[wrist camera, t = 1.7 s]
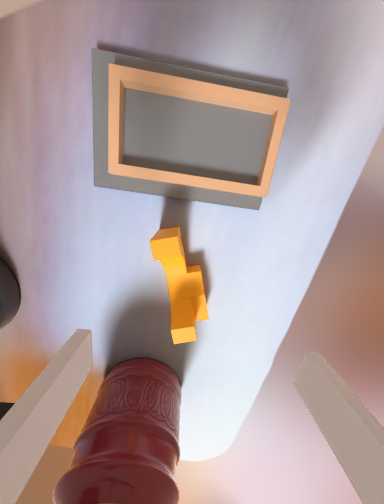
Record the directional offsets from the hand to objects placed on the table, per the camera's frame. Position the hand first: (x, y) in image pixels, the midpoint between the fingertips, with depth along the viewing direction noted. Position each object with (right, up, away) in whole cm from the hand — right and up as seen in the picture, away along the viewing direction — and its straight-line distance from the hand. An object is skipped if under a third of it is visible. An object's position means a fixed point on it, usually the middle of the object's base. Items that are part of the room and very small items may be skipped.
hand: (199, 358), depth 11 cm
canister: (-9, -16, +19) cm, 27 cm away
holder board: (-1, +19, +9) cm, 21 cm away
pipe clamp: (-2, +4, +14) cm, 14 cm away
